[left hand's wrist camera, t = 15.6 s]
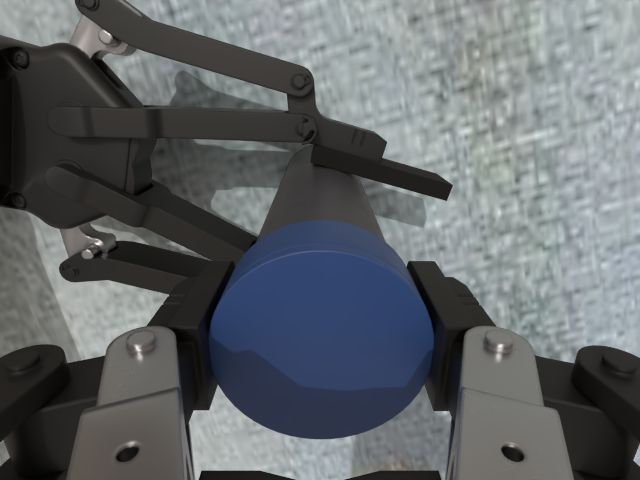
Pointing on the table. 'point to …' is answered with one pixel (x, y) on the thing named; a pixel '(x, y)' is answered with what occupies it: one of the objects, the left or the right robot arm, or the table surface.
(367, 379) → the lid
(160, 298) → the table surface
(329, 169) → the dark grey bottle
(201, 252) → the right robot arm
